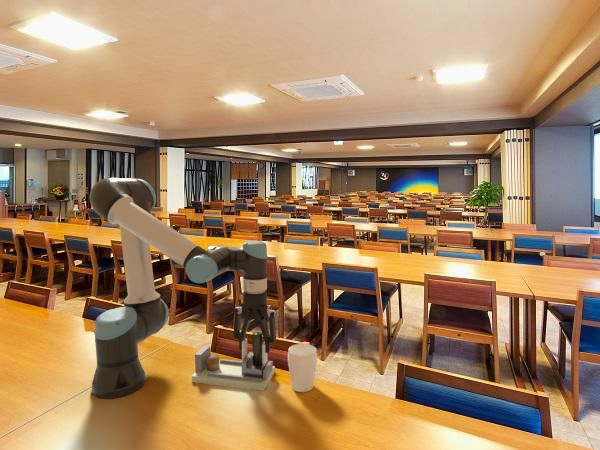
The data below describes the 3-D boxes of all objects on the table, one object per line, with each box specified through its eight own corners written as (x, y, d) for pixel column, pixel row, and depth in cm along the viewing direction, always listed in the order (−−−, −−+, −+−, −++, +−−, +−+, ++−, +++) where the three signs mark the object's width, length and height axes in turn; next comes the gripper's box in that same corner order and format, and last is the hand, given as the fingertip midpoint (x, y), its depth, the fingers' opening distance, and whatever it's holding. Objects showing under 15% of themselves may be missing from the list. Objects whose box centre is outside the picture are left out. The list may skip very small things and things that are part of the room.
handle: (241, 376, 119) (241, 336, 118) (249, 366, 126) (249, 328, 124) (261, 379, 117) (261, 338, 116) (268, 368, 124) (268, 330, 123)
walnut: (204, 370, 123) (204, 359, 123) (210, 365, 127) (210, 353, 127) (216, 372, 122) (215, 360, 122) (221, 366, 126) (221, 354, 126)
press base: (191, 381, 120) (190, 357, 119) (209, 364, 132) (208, 342, 131) (263, 390, 115) (263, 365, 114) (274, 371, 127) (274, 349, 126)
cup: (314, 396, 112) (314, 357, 111) (284, 392, 114) (284, 354, 113) (318, 380, 121) (319, 344, 120) (291, 378, 123) (291, 342, 121)
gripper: (221, 291, 117) (222, 362, 120) (281, 296, 113) (280, 369, 115) (231, 285, 124) (231, 352, 127) (287, 289, 120) (286, 358, 123)
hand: (254, 360), depth 121 cm, fingers open, 6 cm apart
